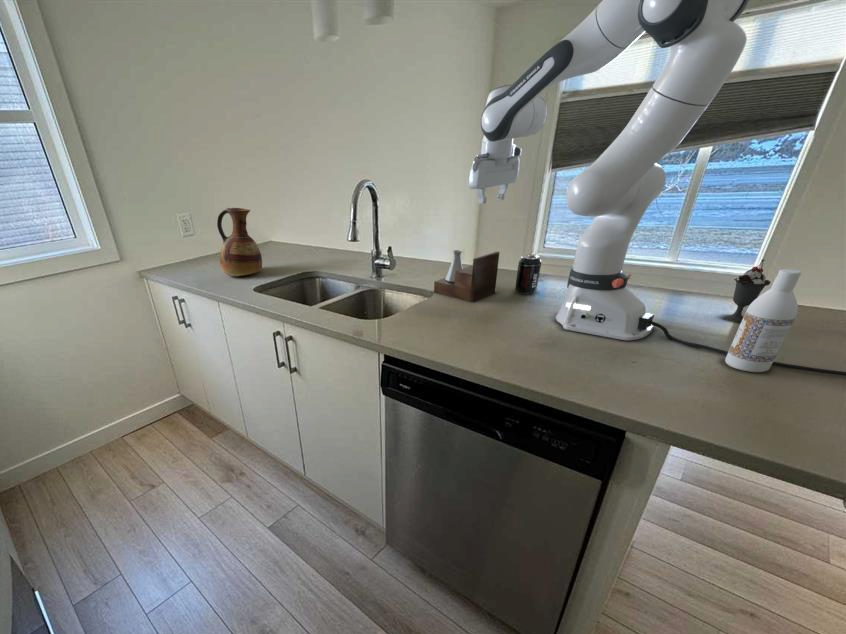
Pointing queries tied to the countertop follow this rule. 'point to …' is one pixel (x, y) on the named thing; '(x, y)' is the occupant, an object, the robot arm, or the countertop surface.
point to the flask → (454, 265)
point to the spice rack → (472, 280)
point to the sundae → (747, 291)
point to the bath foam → (765, 325)
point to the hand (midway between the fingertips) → (491, 201)
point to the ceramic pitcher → (238, 246)
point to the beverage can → (528, 274)
